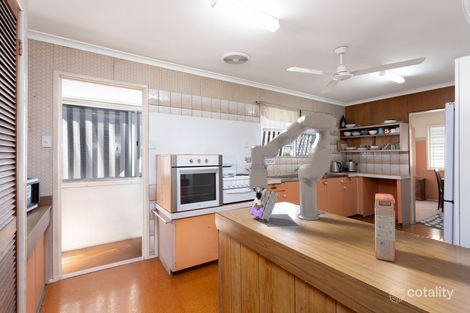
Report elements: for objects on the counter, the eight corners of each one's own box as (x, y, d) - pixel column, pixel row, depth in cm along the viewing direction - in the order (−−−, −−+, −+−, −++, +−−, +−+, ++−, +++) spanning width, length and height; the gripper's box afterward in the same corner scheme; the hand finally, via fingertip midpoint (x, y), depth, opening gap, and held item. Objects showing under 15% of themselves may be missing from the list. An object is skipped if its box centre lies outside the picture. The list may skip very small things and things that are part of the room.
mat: (287, 214, 144) (287, 214, 144) (298, 225, 120) (298, 225, 120) (261, 214, 143) (261, 214, 143) (267, 226, 119) (267, 225, 119)
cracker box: (396, 263, 76) (395, 199, 76) (375, 259, 79) (374, 198, 79) (394, 248, 88) (393, 193, 88) (375, 245, 91) (374, 192, 91)
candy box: (248, 213, 137) (258, 187, 140) (256, 217, 139) (266, 191, 143) (260, 218, 124) (271, 189, 128) (269, 221, 126) (279, 193, 130)
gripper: (270, 166, 135) (271, 197, 135) (244, 167, 135) (245, 198, 135) (272, 167, 128) (273, 200, 128) (245, 167, 128) (246, 201, 128)
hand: (258, 199), depth 132 cm, fingers closed
